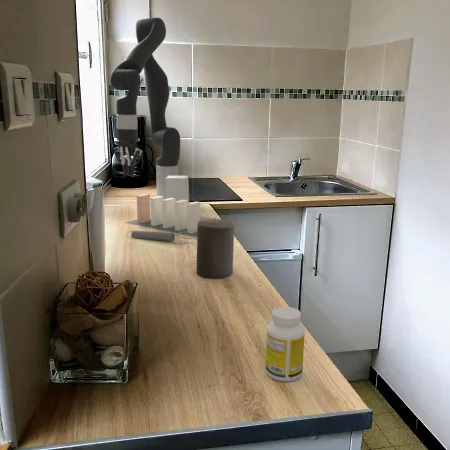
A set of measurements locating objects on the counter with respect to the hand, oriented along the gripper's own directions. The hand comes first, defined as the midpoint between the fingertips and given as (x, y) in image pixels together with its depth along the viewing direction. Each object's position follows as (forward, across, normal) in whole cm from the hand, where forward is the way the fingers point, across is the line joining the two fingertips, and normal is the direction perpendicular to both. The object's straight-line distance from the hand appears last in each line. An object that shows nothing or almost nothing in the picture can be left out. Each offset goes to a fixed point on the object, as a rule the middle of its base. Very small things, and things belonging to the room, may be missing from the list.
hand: (128, 175), depth 179 cm
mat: (+17, +18, 0) cm, 25 cm away
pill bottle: (+17, +96, -63) cm, 116 cm away
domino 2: (+17, +14, 0) cm, 21 cm away
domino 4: (+17, +24, 0) cm, 30 cm away
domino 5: (+17, +30, 0) cm, 34 cm away
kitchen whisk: (+18, +33, -14) cm, 40 cm away
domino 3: (+17, +19, 0) cm, 25 cm away
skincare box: (+17, +10, +17) cm, 26 cm away
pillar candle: (+17, +58, -29) cm, 68 cm away
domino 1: (+17, +7, 0) cm, 18 cm away
